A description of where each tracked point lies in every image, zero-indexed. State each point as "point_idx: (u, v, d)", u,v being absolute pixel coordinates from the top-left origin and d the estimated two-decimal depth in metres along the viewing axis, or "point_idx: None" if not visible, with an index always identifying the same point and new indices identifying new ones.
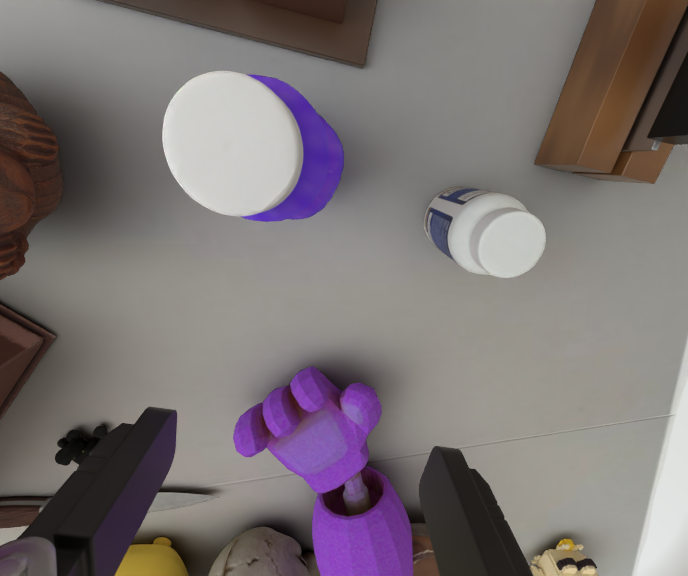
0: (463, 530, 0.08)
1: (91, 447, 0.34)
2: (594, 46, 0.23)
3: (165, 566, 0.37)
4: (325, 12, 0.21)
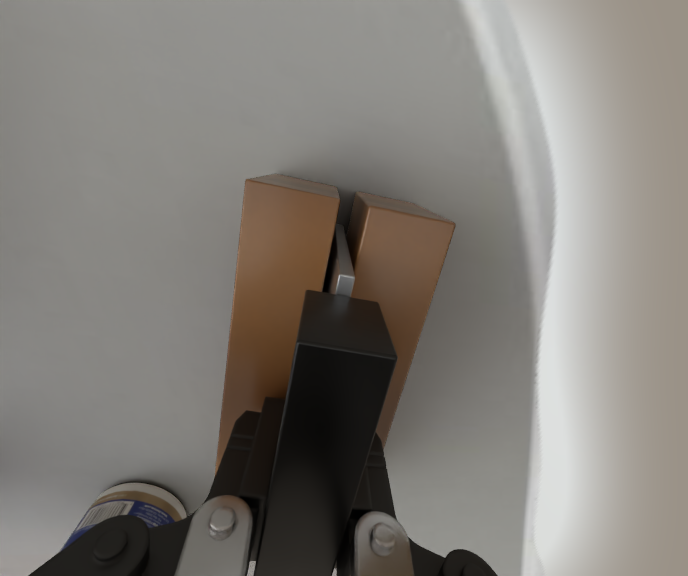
0: None
1: None
2: None
3: None
4: None
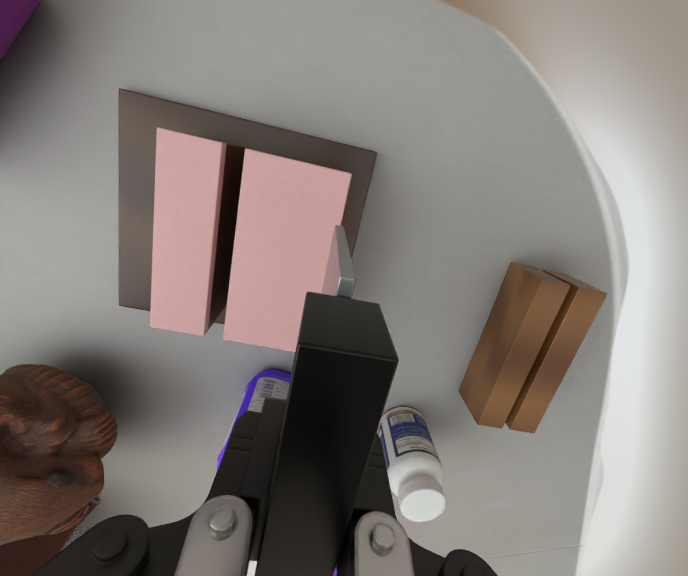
0: None
1: None
2: (491, 339, 0.32)
3: None
4: None
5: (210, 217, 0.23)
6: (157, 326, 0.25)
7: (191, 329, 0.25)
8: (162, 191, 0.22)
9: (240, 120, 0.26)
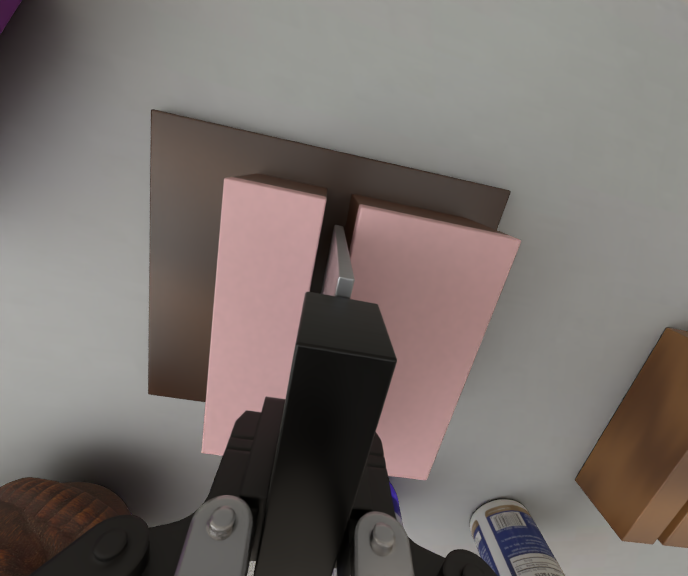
0: None
1: None
2: (637, 426, 0.25)
3: None
4: None
5: (299, 307, 0.15)
6: (212, 452, 0.17)
7: None
8: (228, 273, 0.14)
9: (323, 151, 0.18)
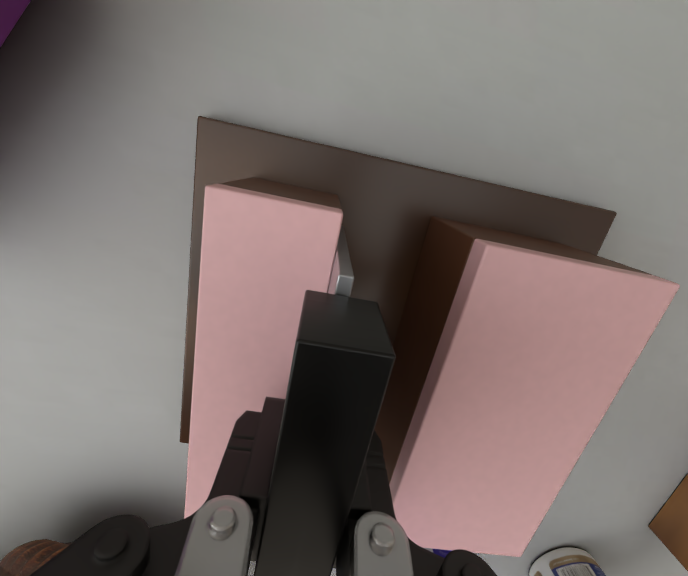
0: None
1: None
2: None
3: None
4: None
5: None
6: None
7: None
8: (213, 309, 0.11)
9: (401, 166, 0.15)
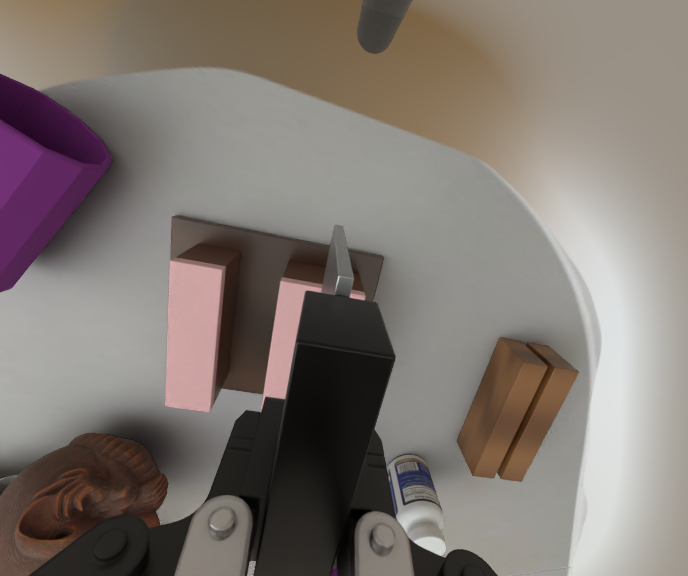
0: None
1: None
2: (484, 402, 0.38)
3: None
4: None
5: (213, 323, 0.28)
6: (171, 405, 0.30)
7: (200, 407, 0.30)
8: (174, 306, 0.27)
9: (271, 237, 0.31)
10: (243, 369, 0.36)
